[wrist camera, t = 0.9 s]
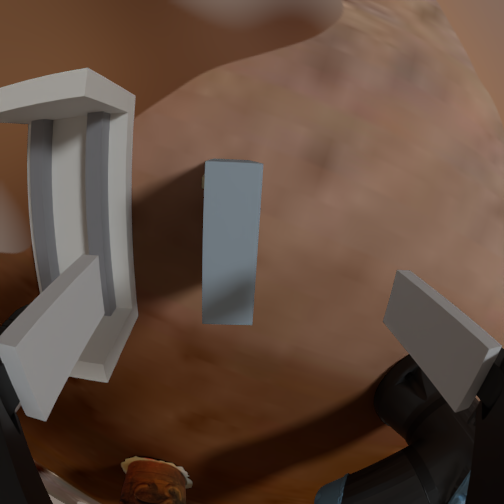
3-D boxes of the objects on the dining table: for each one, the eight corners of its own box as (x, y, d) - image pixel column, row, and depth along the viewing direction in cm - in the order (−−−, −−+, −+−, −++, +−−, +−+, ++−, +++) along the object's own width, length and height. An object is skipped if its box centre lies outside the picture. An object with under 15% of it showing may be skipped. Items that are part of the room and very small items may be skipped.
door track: (138, 315, 34) (107, 382, 23) (51, 307, 33) (3, 361, 22) (135, 95, 27) (87, 67, 16) (39, 107, 26) (-30, 98, 14)
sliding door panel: (242, 266, 33) (252, 324, 22) (206, 265, 33) (198, 323, 22) (249, 160, 30) (263, 163, 19) (210, 158, 30) (200, 161, 18)
